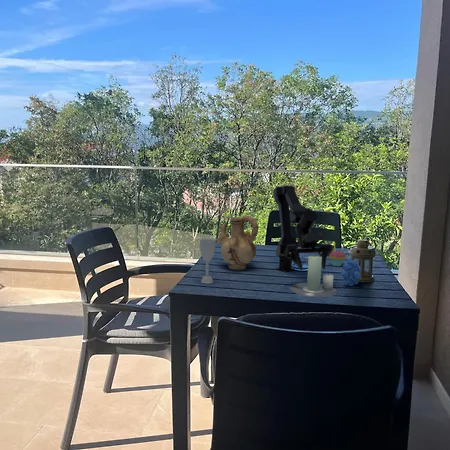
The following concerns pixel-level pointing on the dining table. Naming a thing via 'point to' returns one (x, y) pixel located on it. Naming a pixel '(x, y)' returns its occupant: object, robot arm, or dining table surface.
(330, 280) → the ivory candle
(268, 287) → the dining table surface
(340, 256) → the cupcake
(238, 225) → the ceramic vessel
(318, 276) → the pillar candle
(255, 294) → the dining table surface
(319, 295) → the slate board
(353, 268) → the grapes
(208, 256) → the chalice
